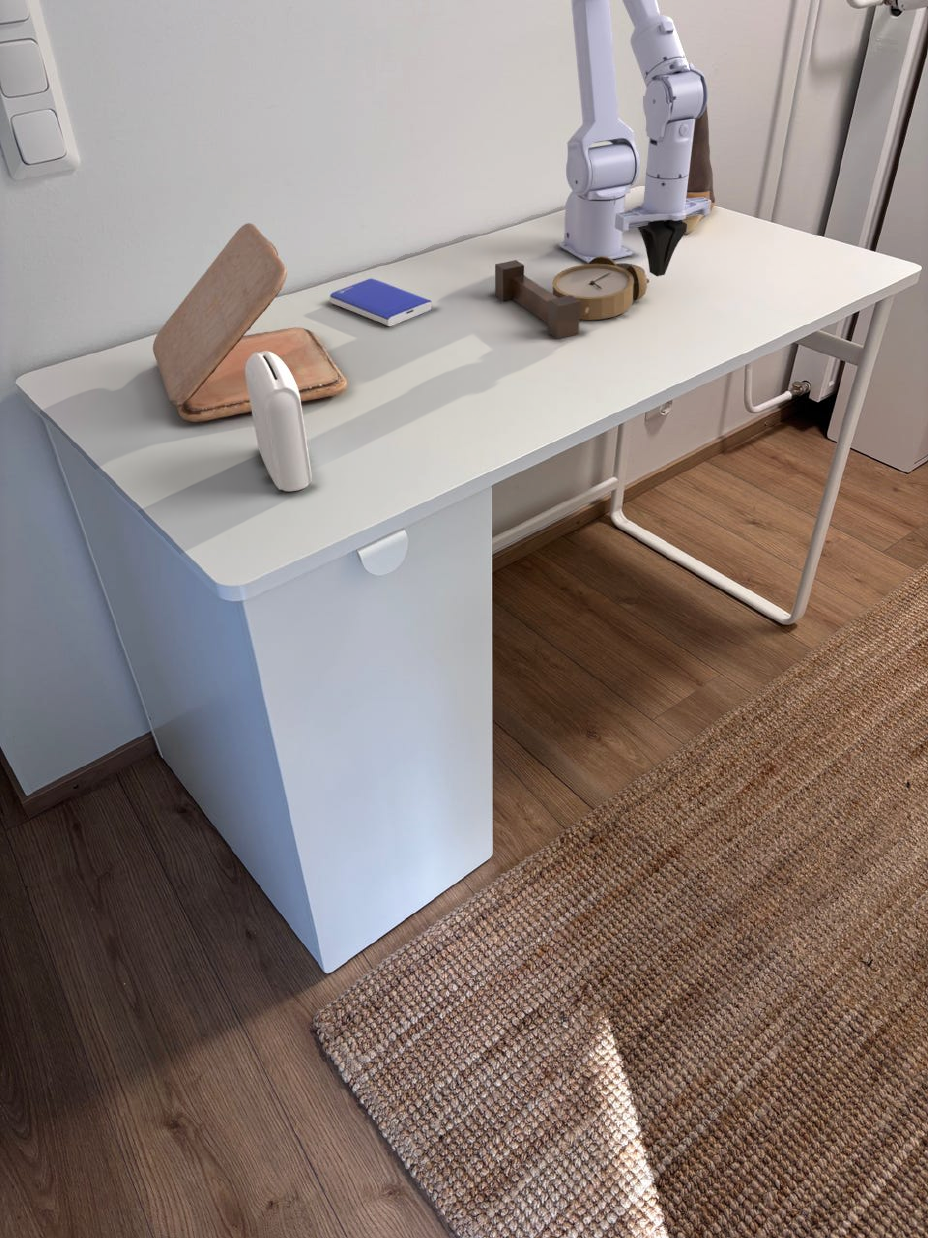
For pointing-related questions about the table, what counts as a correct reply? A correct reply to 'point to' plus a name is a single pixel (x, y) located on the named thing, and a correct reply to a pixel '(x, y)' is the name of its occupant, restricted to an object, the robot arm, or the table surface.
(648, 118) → the robot arm
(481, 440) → the table surface
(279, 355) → the case
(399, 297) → the hard drive
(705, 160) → the boot
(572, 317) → the dumbbell
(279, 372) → the photo printer
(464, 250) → the table surface
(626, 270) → the alarm clock
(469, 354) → the table surface
